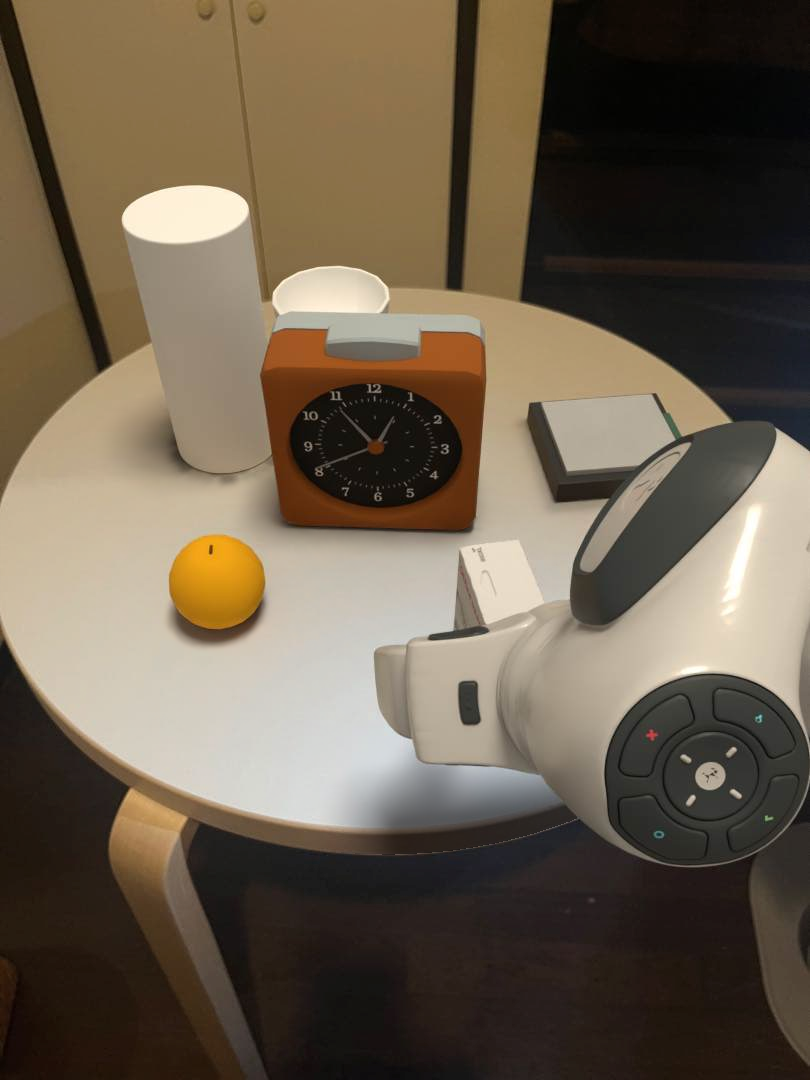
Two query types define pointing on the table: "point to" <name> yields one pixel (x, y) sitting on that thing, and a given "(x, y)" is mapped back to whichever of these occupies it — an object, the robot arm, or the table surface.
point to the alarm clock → (376, 418)
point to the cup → (331, 292)
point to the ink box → (493, 584)
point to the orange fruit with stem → (216, 581)
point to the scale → (597, 441)
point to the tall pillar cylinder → (203, 320)
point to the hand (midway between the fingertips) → (518, 648)
